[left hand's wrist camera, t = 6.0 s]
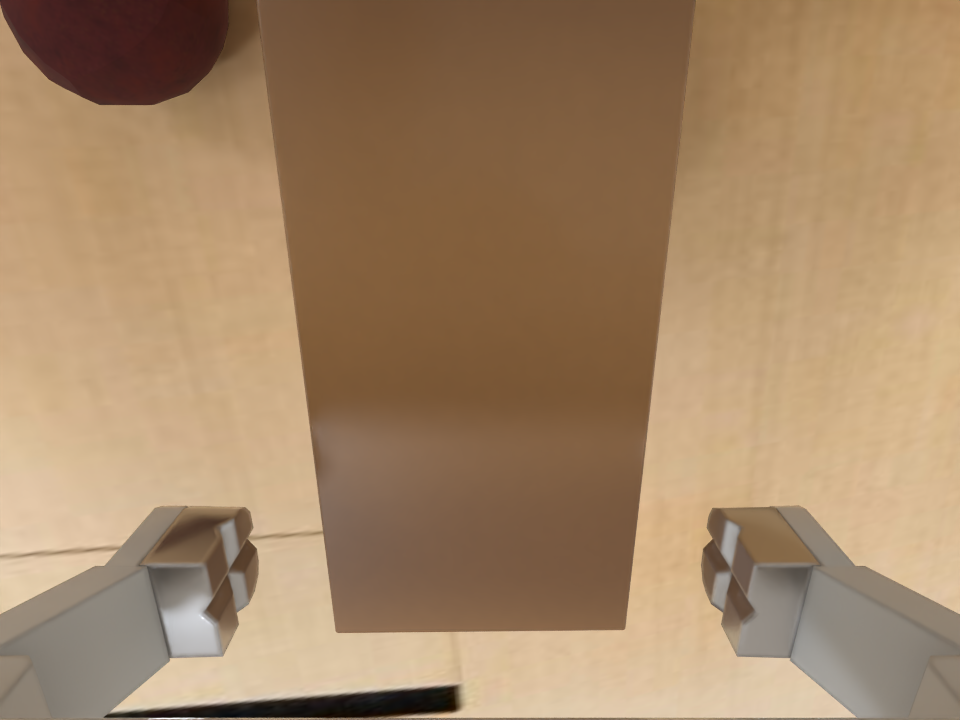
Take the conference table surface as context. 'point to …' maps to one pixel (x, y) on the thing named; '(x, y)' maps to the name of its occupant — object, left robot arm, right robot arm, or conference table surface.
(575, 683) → the conference table surface
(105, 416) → the conference table surface
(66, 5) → the dark red ball
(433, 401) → the box
